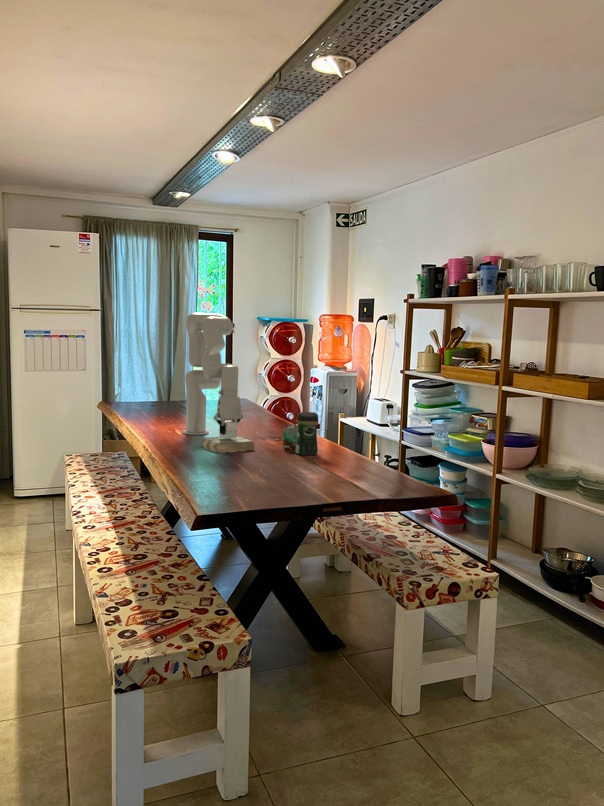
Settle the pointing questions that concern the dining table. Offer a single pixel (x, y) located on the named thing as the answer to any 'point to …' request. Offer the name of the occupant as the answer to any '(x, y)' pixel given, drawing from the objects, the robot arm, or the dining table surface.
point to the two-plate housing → (229, 430)
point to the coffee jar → (307, 433)
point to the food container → (290, 436)
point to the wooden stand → (227, 444)
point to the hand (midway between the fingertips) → (227, 433)
